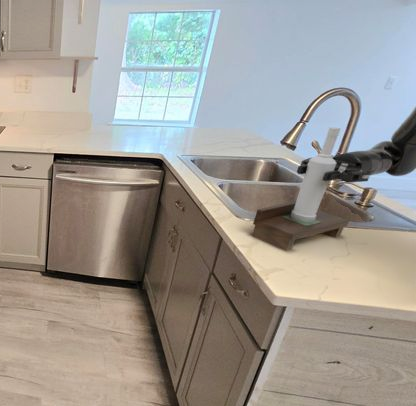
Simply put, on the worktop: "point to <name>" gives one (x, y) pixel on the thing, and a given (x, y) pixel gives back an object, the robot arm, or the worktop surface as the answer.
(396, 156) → the robot arm
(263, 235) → the shelf
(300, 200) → the bottle
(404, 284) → the worktop surface
